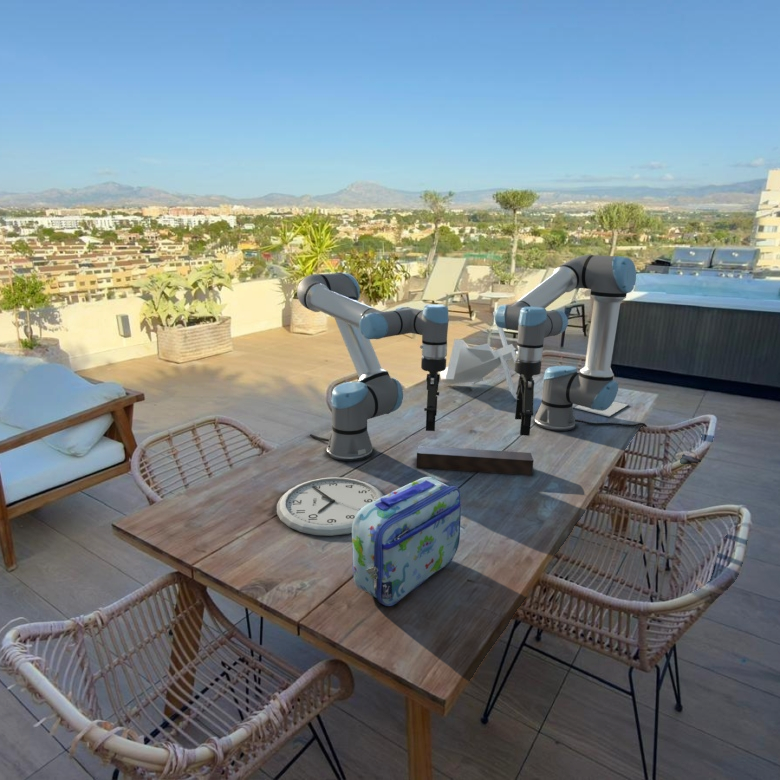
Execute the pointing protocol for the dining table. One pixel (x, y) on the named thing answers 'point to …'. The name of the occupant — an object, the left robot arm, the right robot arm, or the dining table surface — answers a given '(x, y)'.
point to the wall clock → (325, 505)
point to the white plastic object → (478, 362)
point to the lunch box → (405, 538)
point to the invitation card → (608, 412)
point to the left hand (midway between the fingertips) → (431, 422)
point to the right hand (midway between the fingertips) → (521, 426)
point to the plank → (474, 460)
